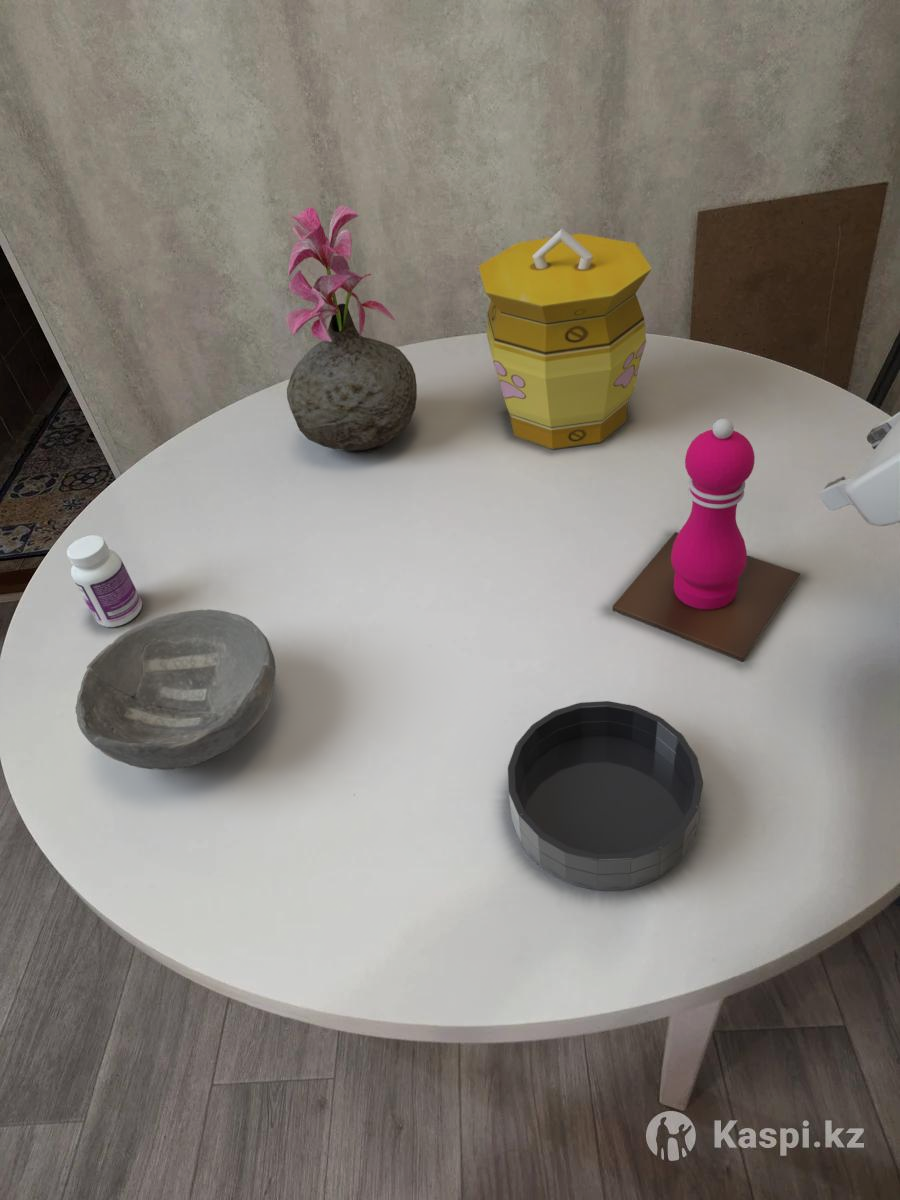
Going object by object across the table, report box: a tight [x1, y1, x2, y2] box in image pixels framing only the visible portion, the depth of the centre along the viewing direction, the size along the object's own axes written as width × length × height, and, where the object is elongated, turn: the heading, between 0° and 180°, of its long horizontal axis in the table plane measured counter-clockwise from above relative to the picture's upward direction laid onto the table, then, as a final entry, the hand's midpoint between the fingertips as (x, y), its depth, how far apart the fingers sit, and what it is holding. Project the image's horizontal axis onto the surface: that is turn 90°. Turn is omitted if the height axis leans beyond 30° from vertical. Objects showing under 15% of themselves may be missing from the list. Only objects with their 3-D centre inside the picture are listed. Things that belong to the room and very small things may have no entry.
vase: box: [285, 205, 418, 454], centre depth 109 cm, size 17×17×30 cm
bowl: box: [74, 608, 276, 771], centre depth 81 cm, size 18×18×8 cm
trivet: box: [611, 531, 801, 662], centre depth 89 cm, size 14×14×1 cm
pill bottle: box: [66, 534, 143, 628], centre depth 94 cm, size 5×5×10 cm
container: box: [478, 227, 653, 451], centre depth 109 cm, size 21×21×25 cm
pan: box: [507, 700, 704, 891], centre depth 70 cm, size 15×15×4 cm
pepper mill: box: [671, 418, 756, 610], centre depth 82 cm, size 7×7×20 cm
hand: (851, 468), depth 69 cm, fingers open, 8 cm apart
